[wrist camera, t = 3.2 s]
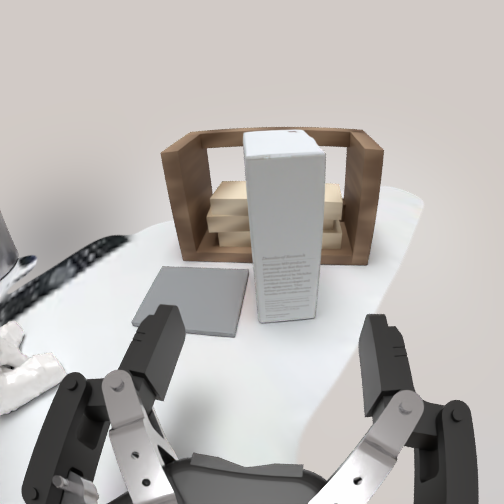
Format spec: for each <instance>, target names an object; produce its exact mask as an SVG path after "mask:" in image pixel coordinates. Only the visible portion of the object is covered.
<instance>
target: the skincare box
mask: <svg viewBox="0 0 504 504" xmlns="http://www.w3.org/2000/svg"><path fill="white" fill-rule="evenodd" d="M243 149H244V163H245V176H246V191H247V203H248V215H249V226H250V238H251V249H252V259H253V270H254V279H255V288H256V299H257V310H258V320H259V322H261V323H267V322H278V321H289V320H299V319H309V318H314V317H315V313H316V304H317V295H318V283H319V273H320V262H321V249H322V236H323V221H324V201H325V169H326V153H325V152H324V151H323V150H322V149H321V148H320V147H319V146H318V145H317V143H316V141H315V140H314V139H313V138H312V137H310V136H309V135H308V134H307V133H306V132H305V131H303V130H270V131H253V132H245V133H243Z"/></svg>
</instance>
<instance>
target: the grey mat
mask: <svg viewBox="0 0 504 504" xmlns="http://www.w3.org/2000/svg"><path fill="white" fill-rule="evenodd" d="M248 275H249V269H220V268H193V267H169V266H162V268H161V270H160V271H159V273H158V275H157V277H156V278H155V280H154V282H153V284H152V286H151V287H150V289H149V291H148V293H147V295H146V296H145V298H144V300H143V302H142V304H141V305H140V307H139V309H138V311H137V313H136V315H135V317H134V319H133V320H132V324H133V326H139V325H140V323H141V322H142V321H143V320H144V319H145V318H146V317H147V316H148V315H149V314H150V315H154V314H155V312H156V310H157V308H158V306H159V305H160V304H166V305H176V306H178V308H179V311H180V314H181V317H182V320H183V323H184V326H185V331H186V333H194V334H204V335H215V336H227V337H235V333H236V329H237V324H238V320H239V315H240V311H241V306H242V302H243V297H244V293H245V288H246V284H247V279H248Z"/></svg>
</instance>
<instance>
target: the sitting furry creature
mask: <svg viewBox="0 0 504 504" xmlns="http://www.w3.org/2000/svg"><path fill="white" fill-rule="evenodd" d="M23 336H24V332H23V330H22V328H21V327H20V325H19V324H18V323H16V322H15V321H12V322H10V321H9V322H8V323H7V324H5V325H3V326H2V327H0V415H2V414H9V413H10V412H11V411H15V410H17V407H20V406H22V405H23V404H27V402H29V401H30V400H32V399H33V398H35V397H38V396H39V395H40V394H42V393H44V392H45V391H47V390H49V389H50V388H52V387H54V386H56V385H57V384H59V383H60V382H61V381H62V380H63V378H64V377H65V376H66V375H67V374H66V373H65V370H64V369H63V367H62V366H61V364H60V362H59V361H58V360H57V358H56V357H55V355H54V354H53V353H44V354H41V355H40V354H37V355H32V357H30V358H28V357H27V355H24V354H23V353H21V351H20V349H19V348H18V347H19V345H20V343H21V342H22V338H23ZM11 366H12V367H14V368H13V369H11Z"/></svg>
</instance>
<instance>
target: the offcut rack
mask: <svg viewBox="0 0 504 504" xmlns="http://www.w3.org/2000/svg"><path fill="white" fill-rule="evenodd" d="M270 130H303V131H305V132H306V133H307V134H308V135H309V136H310V137H312V138H313V139H314V140H315V141H316V143H317V145H318V146H336V147H347V157H346V175H345V189H344V198H342V201H343V206H342V217H341V220H339V222H340V226H341V230H342V241H341V249H321V262H320V264H334V265H367V264H368V259H369V254H370V249H371V243H372V238H373V232H374V226H375V220H376V213H377V206H378V199H379V192H380V184H381V175H382V166H383V155H384V150H383V149H382V148H381V147H380V146H379V145H378V144H377V143H376V142H375V141H374V140H373V139H372V138H371V137H369V135H367V134H366V133H365V132H364V131H363V130H357V129H341V128H319V127H317V128H316V127H261V128H260V127H259V128H237V129H221V130H208V131H198V132H190V133H188V134H187V135H185V136H184V137H183V138H181V139H180V140H178V141H177V142H175V143H174V144H172V145H171V146H170V147H168V148H167V149H165V150H164V151H162V152H161V158H162V164H163V169H164V174H165V180H166V185H167V190H168V194H169V199H170V204H171V209H172V213H173V218H174V223H175V228H176V232H177V236H178V241H179V245H180V249H181V253H182V257H183V261H214V262H249V263H253V259H252V249H251V247H223V246H220V245H219V238H218V232H211V233H209V229H208V223H207V214H208V212H209V209H210V207H211V204H210V198H211V196H212V195H213V194H212V186H211V178H210V171H209V163H208V155H207V148H218V147H236V146H243V133H245V132H253V131H270Z"/></svg>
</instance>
